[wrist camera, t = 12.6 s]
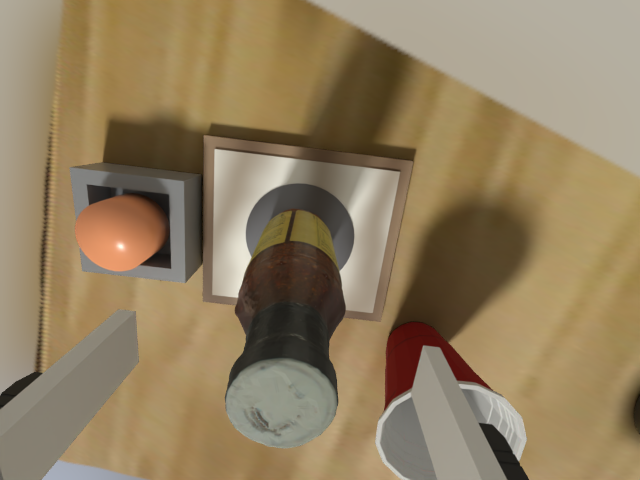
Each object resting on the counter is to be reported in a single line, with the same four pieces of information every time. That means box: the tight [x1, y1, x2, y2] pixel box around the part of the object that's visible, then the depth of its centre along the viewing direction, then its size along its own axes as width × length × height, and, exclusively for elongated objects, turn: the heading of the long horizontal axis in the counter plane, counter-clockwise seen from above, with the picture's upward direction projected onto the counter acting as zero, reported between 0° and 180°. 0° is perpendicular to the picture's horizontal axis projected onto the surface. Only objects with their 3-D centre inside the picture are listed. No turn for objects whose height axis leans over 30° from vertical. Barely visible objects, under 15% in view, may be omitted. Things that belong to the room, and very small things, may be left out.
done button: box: [75, 193, 170, 271], centre depth 27 cm, size 6×6×4 cm
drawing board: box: [203, 135, 413, 322], centre depth 31 cm, size 18×16×1 cm
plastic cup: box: [375, 322, 527, 480], centre depth 30 cm, size 11×11×12 cm
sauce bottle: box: [225, 209, 346, 448], centre depth 21 cm, size 7×6×20 cm
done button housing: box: [70, 162, 202, 283], centre depth 30 cm, size 9×9×4 cm
